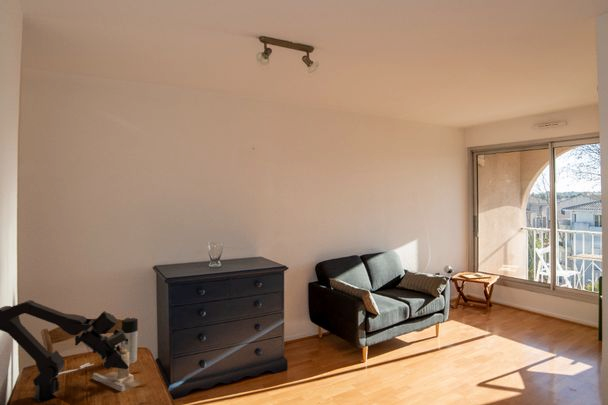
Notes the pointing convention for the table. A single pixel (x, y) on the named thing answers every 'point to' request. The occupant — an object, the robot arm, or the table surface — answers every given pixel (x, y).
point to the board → (109, 381)
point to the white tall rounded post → (124, 370)
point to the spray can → (130, 338)
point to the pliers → (75, 369)
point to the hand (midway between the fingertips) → (127, 365)
